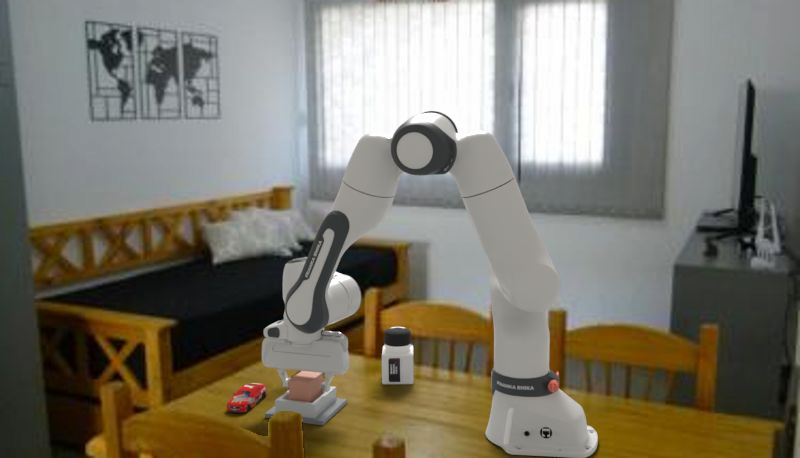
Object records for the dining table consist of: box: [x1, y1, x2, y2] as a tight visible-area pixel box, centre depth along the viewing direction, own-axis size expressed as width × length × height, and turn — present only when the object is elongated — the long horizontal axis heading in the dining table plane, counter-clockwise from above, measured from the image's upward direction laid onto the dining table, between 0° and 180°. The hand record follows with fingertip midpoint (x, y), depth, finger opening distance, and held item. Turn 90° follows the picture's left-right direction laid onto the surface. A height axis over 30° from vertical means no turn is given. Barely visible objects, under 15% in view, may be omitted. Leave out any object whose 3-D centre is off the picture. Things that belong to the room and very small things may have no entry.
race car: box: [226, 382, 268, 413], centre depth 176 cm, size 13×5×4 cm, turn 164°
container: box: [381, 326, 415, 385], centre depth 189 cm, size 8×8×13 cm
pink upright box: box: [288, 371, 324, 403], centre depth 171 cm, size 5×7×7 cm
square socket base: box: [264, 385, 348, 426], centre depth 171 cm, size 14×13×4 cm
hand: (306, 388), depth 170 cm, fingers open, 8 cm apart
